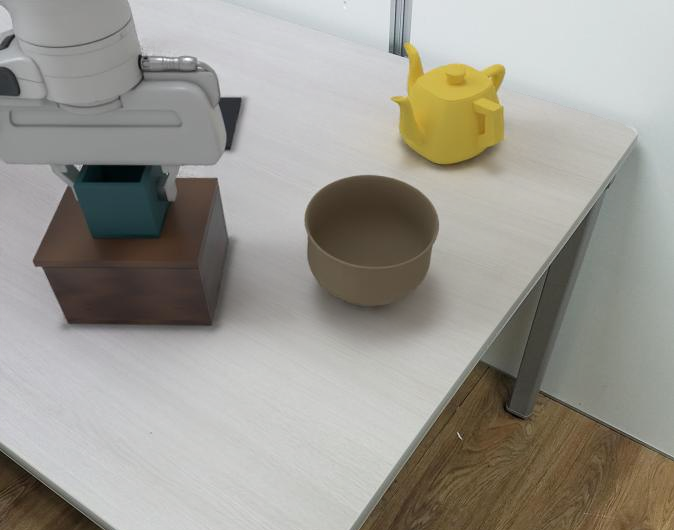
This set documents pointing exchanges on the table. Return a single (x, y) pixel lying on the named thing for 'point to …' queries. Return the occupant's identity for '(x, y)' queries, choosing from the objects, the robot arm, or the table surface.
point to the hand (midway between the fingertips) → (127, 197)
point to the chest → (146, 287)
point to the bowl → (370, 238)
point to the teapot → (450, 110)
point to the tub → (121, 200)
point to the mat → (229, 116)
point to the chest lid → (166, 252)
